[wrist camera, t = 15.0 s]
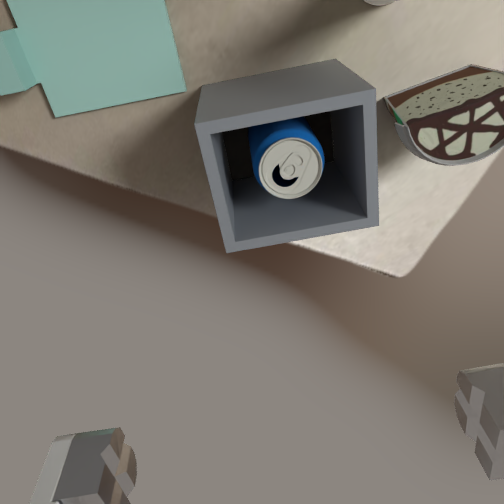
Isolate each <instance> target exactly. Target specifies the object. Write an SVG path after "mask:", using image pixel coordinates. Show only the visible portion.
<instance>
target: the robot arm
mask: <svg viewBox="0 0 504 504" xmlns="http://www.w3.org/2000/svg"><path fill="white" fill-rule="evenodd" d="M456 382H457V384H458V386H459V387H460V390H459V391H458V392H457V393H456V394H455V402H454V405H455V409H456V415H457V418H458V420H459V423H460V425H461V427H462V429H463V431H464V433H465V435H467V436H468V437H470V438H471V439H472V440H474V441H475V442H476V448H475V454H476V456H477V458H478V460H479V461H480V463H481V465H482V467H483V469H484V471H485V473H486V475H487V476H488V478H489V480H496V479H504V364H496V365H490V366H484V367H479V368H473V369H467V370H462V371H459V373H458V374H457V381H456ZM124 438H125V435H124V433H123V432H122V430H121V428H120V427H119V428H112V429H105V430H97V431H90V432H83V433H75V434H69V435H63V436H57V437H56V438H55V440H54V441H53V442H52V444H51V446H50V449H49V452H48V454H47V457H46V460H45V462H44V465H43V468H42V470H41V473H40V476H39V478H38V481H37V484H36V487H35V489H34V492H33V494H32V497H31V500H30V503H29V504H130V502H129V500H128V498H127V496H128V495H129V493H130V492H131V491H132V490H133V488H134V487H135V482H136V476H137V465H136V464H137V463H136V458H135V454H134V451H133V450H132V448H131V446H129V445H127V444H125V443H124Z"/></svg>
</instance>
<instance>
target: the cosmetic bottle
mask: <svg viewBox="0 0 504 504" xmlns="http://www.w3.org/2000/svg"><path fill="white" fill-rule="evenodd" d="M364 1H365V2H367V3H369V4H371V5H376V6H382V5H387V4H390V3H392V2H394V1H398V0H364Z"/></svg>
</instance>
